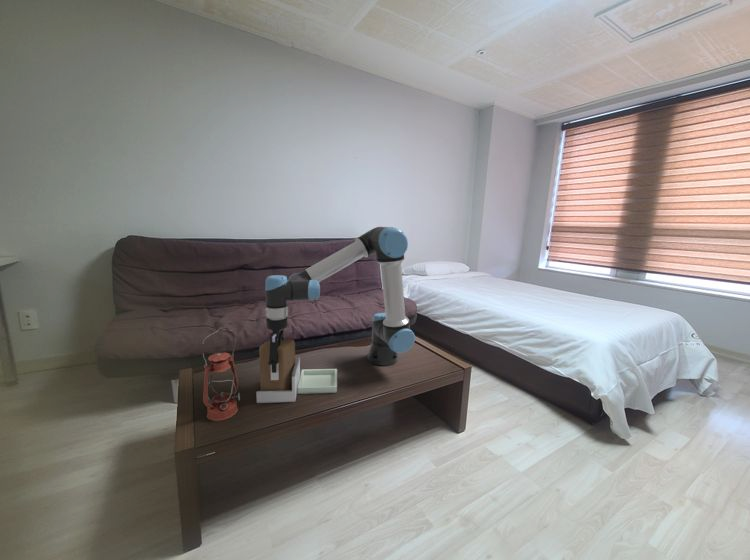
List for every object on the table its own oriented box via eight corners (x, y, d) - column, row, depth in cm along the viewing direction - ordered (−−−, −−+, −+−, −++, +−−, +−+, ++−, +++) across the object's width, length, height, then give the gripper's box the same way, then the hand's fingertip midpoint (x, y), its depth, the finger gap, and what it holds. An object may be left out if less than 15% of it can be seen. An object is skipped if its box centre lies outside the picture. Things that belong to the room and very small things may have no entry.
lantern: (214, 403, 108) (209, 323, 103) (244, 403, 109) (240, 323, 104) (201, 421, 99) (195, 333, 93) (234, 420, 99) (229, 333, 94)
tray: (336, 374, 133) (337, 368, 132) (336, 392, 118) (336, 387, 117) (302, 374, 131) (301, 369, 130) (297, 394, 116) (297, 388, 116)
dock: (300, 380, 126) (299, 356, 124) (295, 401, 111) (294, 374, 109) (266, 381, 124) (265, 357, 122) (256, 402, 109) (255, 375, 107)
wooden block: (284, 400, 112) (283, 349, 108) (259, 396, 114) (257, 346, 110) (296, 386, 121) (295, 339, 118) (273, 383, 123) (272, 336, 120)
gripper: (273, 308, 123) (274, 358, 127) (258, 328, 100) (260, 388, 104) (292, 308, 124) (292, 357, 128) (281, 328, 101) (282, 387, 105)
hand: (278, 371), depth 116 cm, fingers closed on wooden block, 11 cm apart
